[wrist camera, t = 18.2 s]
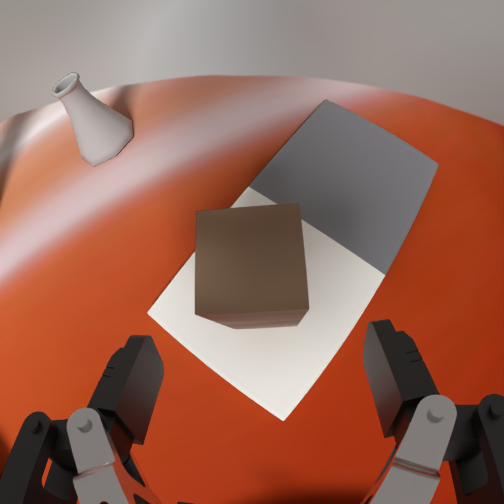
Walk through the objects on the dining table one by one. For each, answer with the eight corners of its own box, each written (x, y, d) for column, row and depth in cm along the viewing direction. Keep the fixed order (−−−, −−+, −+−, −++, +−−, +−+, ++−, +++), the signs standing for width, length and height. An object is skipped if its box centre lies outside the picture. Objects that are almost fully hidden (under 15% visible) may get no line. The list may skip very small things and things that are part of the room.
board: (283, 417, 19) (283, 421, 18) (152, 314, 23) (147, 312, 22) (434, 169, 24) (438, 164, 23) (325, 106, 28) (325, 99, 27)
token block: (297, 326, 20) (309, 308, 11) (235, 329, 21) (194, 314, 11) (293, 266, 22) (299, 202, 12) (233, 269, 22) (196, 211, 13)
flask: (123, 108, 31) (88, 51, 22) (143, 137, 29) (103, 72, 19) (77, 143, 30) (33, 93, 21) (91, 178, 28) (38, 123, 19)
